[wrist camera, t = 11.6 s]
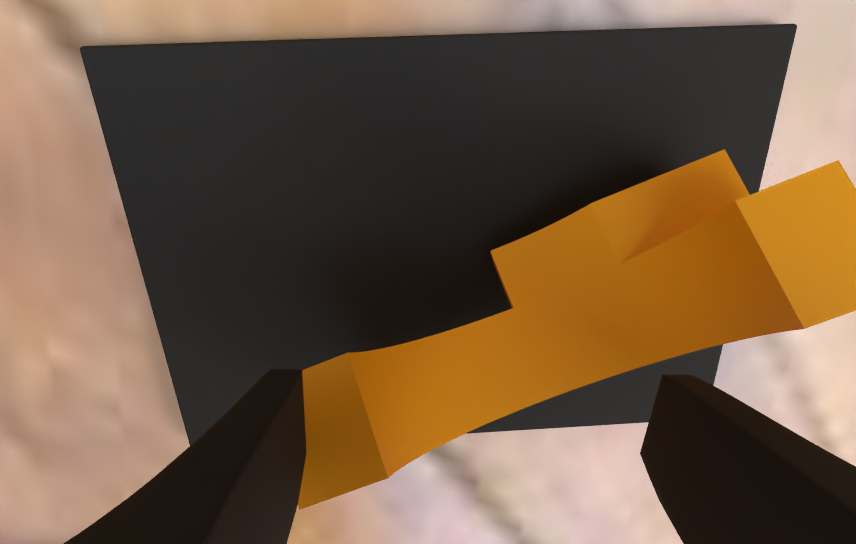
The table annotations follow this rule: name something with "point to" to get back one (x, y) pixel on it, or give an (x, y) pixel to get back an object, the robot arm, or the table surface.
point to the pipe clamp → (593, 312)
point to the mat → (401, 183)
